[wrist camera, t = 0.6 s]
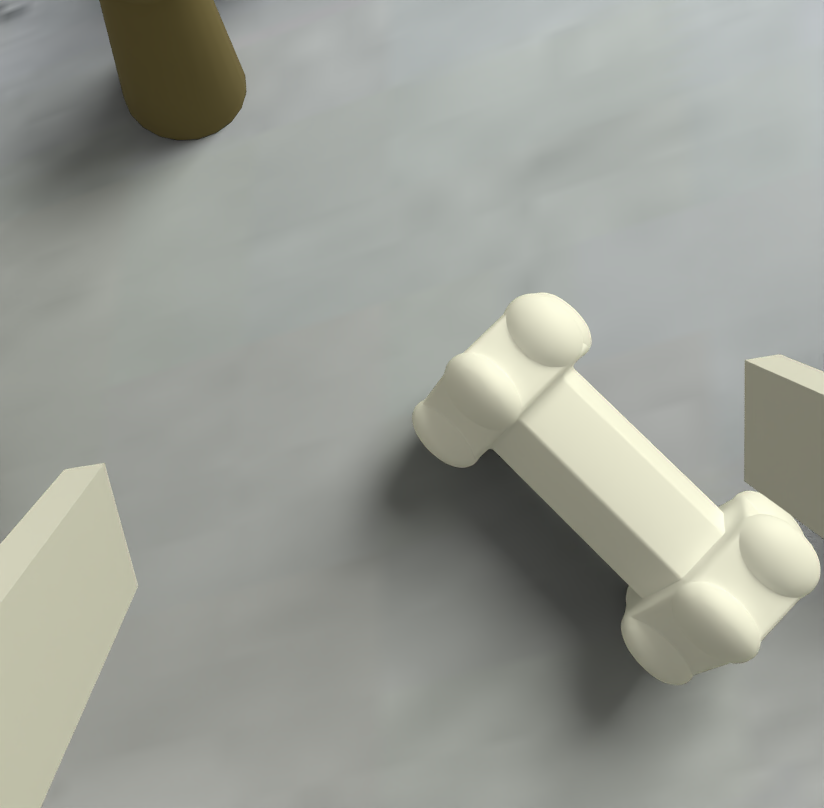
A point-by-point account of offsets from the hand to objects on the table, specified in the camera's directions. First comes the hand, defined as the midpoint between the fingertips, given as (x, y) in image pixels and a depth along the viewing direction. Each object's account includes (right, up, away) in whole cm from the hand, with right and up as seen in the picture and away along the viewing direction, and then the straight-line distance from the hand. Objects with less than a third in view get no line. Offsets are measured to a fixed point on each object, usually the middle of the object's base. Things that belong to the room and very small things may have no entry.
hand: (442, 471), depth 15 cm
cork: (-12, +17, +23) cm, 31 cm away
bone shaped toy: (+7, -3, +19) cm, 21 cm away
